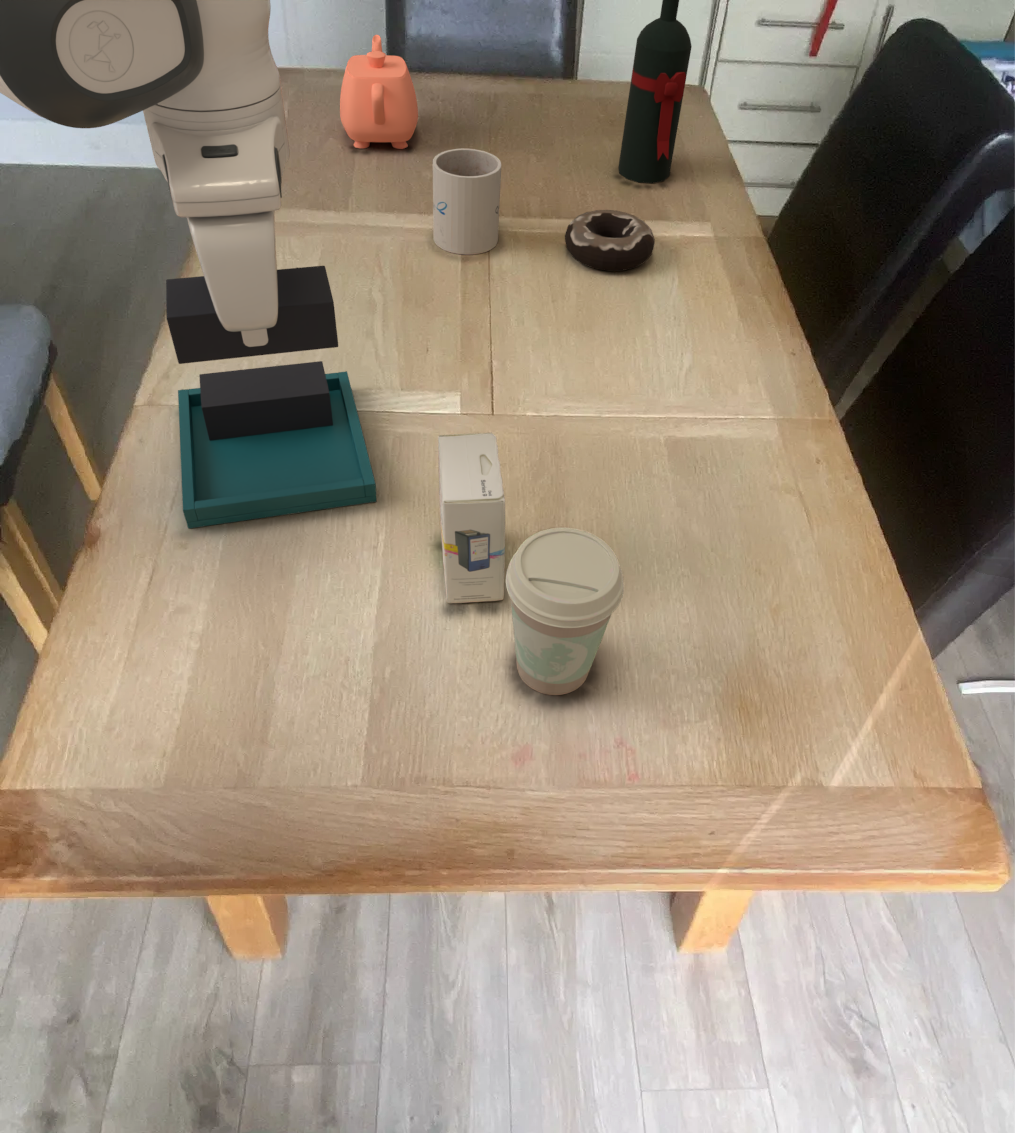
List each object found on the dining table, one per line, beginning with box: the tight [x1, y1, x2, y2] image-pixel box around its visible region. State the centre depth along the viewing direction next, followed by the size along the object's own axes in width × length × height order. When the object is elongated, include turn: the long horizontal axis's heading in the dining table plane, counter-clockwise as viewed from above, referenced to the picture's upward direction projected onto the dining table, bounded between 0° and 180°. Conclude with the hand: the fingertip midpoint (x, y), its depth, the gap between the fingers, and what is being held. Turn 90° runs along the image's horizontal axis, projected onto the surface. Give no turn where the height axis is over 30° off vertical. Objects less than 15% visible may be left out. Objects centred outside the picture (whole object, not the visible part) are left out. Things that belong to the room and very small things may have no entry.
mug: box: [432, 148, 502, 256], centre depth 118 cm, size 12×9×10 cm
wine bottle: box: [618, 0, 692, 184], centre depth 126 cm, size 8×10×30 cm
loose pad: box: [165, 265, 339, 365], centre depth 70 cm, size 12×6×4 cm, turn 105°
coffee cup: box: [505, 526, 625, 696], centre depth 68 cm, size 8×8×12 cm
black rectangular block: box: [198, 360, 333, 441], centre depth 90 cm, size 12×6×4 cm, turn 105°
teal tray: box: [177, 370, 378, 529], centre depth 88 cm, size 17×18×2 cm
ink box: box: [437, 432, 506, 604], centre depth 75 cm, size 9×5×12 cm, turn 6°
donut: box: [564, 209, 656, 272], centre depth 118 cm, size 12×12×4 cm
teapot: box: [339, 34, 419, 150], centre depth 137 cm, size 20×12×12 cm, turn 6°
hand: (253, 316), depth 70 cm, fingers closed on loose pad, 5 cm apart
